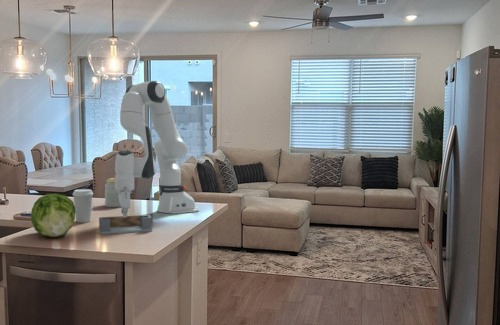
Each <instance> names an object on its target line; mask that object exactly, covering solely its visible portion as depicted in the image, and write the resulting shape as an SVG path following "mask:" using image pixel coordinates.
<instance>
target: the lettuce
mask: <svg viewBox="0 0 500 325" xmlns="http://www.w3.org/2000/svg"><path fill="white" fill-rule="evenodd" d="M30 215H31V216H30V222H31V223H32V226H33V228H34V230H35V231H36V232H37V233H38V234H40V235H41V236H43V237H48V238H57V237H58V238H59V237H61V236H63V235H66V234H67V233H68V232H69V231H70V230H71V229H72V226H73V224H74V222H75V221H76V214H75V205H74V200H73V199H71V198H69V197H68V196H67V195H65V194H59V193H46V194H45V195H42V196H40V197H38V199H37V200H36V201H35V202H34V203H33V206H32V208H31V214H30Z"/></svg>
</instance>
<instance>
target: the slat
mask: <svg viewBox="0 0 500 325" xmlns="http://www.w3.org/2000/svg"><path fill="white" fill-rule="evenodd" d="M108 217H109V219H110V227H117V226H118V227H120V226H121V227H122V226H136V225H137V226H140V215H139V214H138V215H127V217H123V215H121V216H108Z"/></svg>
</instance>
